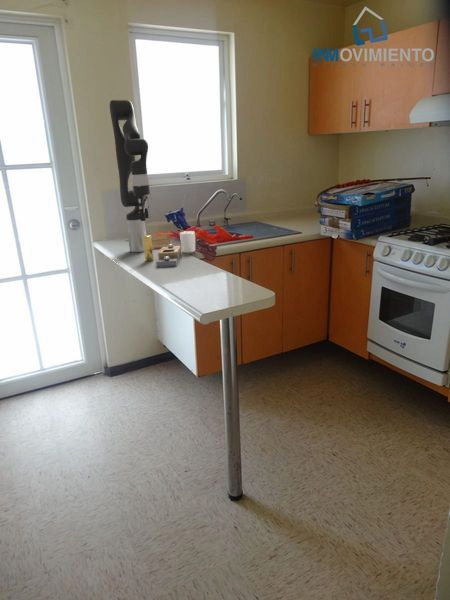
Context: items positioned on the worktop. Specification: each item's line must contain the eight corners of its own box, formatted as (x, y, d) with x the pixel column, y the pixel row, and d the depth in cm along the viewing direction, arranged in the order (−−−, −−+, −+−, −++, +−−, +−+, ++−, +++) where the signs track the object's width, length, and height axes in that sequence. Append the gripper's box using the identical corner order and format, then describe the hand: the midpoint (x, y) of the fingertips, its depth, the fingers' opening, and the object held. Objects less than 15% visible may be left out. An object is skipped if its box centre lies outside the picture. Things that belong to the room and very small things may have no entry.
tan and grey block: (156, 267, 197) (155, 253, 195) (163, 256, 218) (162, 243, 216) (176, 266, 197) (174, 252, 195) (181, 255, 218) (180, 242, 216)
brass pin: (144, 261, 210) (141, 237, 206) (146, 259, 214) (143, 235, 210) (152, 261, 210) (150, 236, 206) (154, 259, 214) (151, 235, 210)
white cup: (182, 253, 222) (181, 234, 219) (180, 250, 229) (178, 232, 226) (197, 251, 224) (196, 232, 221) (194, 249, 231) (193, 230, 228)
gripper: (135, 183, 207) (139, 217, 212) (129, 186, 194) (133, 222, 199) (151, 183, 207) (155, 217, 212) (145, 185, 193) (150, 221, 199)
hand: (144, 219), depth 205 cm, fingers open, 8 cm apart
